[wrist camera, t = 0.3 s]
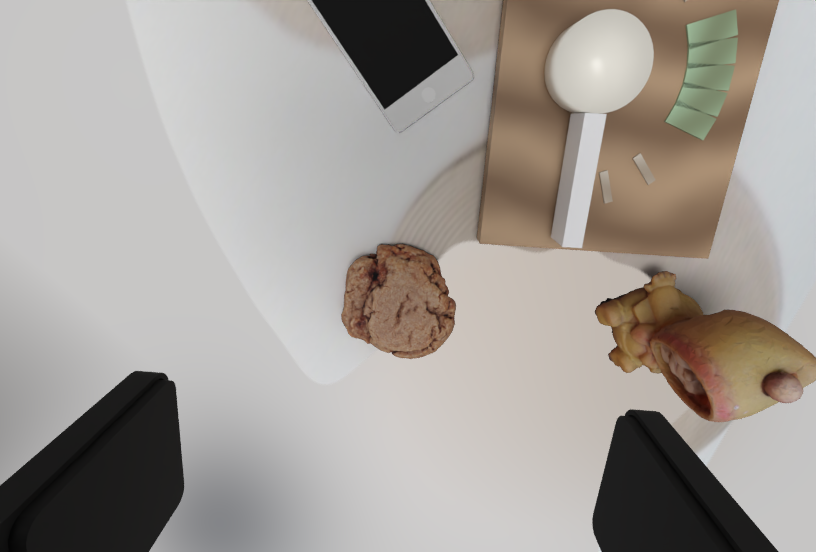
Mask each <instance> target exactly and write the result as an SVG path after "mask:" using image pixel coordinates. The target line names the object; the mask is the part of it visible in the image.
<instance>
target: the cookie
mask: <svg viewBox="0 0 816 552" xmlns="http://www.w3.org/2000/svg"><path fill="white" fill-rule="evenodd" d="M376 253H377V254H370V256H362V257H360V258H359V259H357V260H355V262H354V263H353V264H352V265H351V266H350V268H349V269H348V272H347V277H346V291H345V295H344V309H343V312H342V314H341V316H342V322H343V324H344V325H345V327H346V329H347V331H348V334H349V335H350V336H351V337H354V338H359V339H362V340H364V341H365V342H367V344H369V343H371V344H372V345H374V346H375V347H377V348H378V349H379V350H381V351H384V352H387V353H390V352H392V354H393V355H394V356H396V357H400V358H409V359H412V358H420V357H423V356H426V355H428V354H430V353H433V352H435V351H436V350H437V349H438V348H439V347H440V346H441V345H442V344H443V343H444V342H445V341H446V340H447V338H448V337H449V336H450V334H451V332H452V331H453V327H454V324H455V321H454V315H455V310H456V304H455V301H454V300H453V299H452V298H450V297H448V294H449V290H448V287H447V286H446V285H445V279H444V278H442V276H441V272H440V267H439V264H438V261H437V260H436V258H435V257H434V256H433V255H430V254H428V253H426V252H425V251H423V250H419V249H417V248H414V247H412V246H407V245H404V244H396V245H394V246H390V245H383V244H381V245H379V246H378V247H377V251H376Z"/></svg>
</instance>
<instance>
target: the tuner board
mask: <svg viewBox="0 0 816 552" xmlns="http://www.w3.org/2000/svg"><path fill="white" fill-rule="evenodd" d="M778 2H779V0H503V7H502V16H501V25H500V34H499V43H498V52H497V61H496V70H495V79H494V88H493V97H492V106H491V115H490V124H489V133H488V142H487V151H486V160H485V169H484V178H483V187H482V196H481V205H480V214H479V223H478V232H477V239H478V241H479V243H480V244H494V245H509V246H524V247H540V248H555V249H570V250H586V251H600V252H616V253H631V254H646V255H661V256H676V257H692V258H707V259H708V257H709V254H710V250H711V246H712V243H713V239H714V235H715V232H716V228H717V224H718V221H719V217H720V214H721V210H722V206H723V203H724V199H725V195H726V192H727V188H728V184H729V181H730V177H731V173H732V170H733V166H734V162H735V159H736V155H737V152H738V148H739V144H740V141H741V137H742V133H743V130H744V126H745V122H746V119H747V115H748V111H749V108H750V104H751V100H752V97H753V93H754V90H755V86H756V82H757V79H758V75H759V71H760V68H761V64H762V60H763V57H764V53H765V49H766V46H767V42H768V38H769V35H770V31H771V27H772V24H773V20H774V17H775V13H776V9H777V6H778ZM606 9H617V10H622V11H625V12H628V13H630V14H632V15H634V16H635V17H637V18H638V19H639V20H640V21H641V22H642V23H643V24H644V26H645V27H646V28H647V30H648V32H649V34H650V37H651V39H652V43H653V50H654V59H653V66H652V70H651V73H650V76H649V78H648V81H647V82H646V84H645V86H644V87H643V89H642V90H641V92H640V93H639V94H638V95H637V96H636V97H635V98H634V99H633V100H632V101H631V102H630V103H628V104H627V105H625V106H623V107H622V108H620V109H617V110H615V111H612V112H608V113H599V114H607V115H606V121H605V126H604V131H603V137H602V142H601V148H600V153H599V158H598V164H597V169H596V175H595V180H594V186H593V191H592V196H591V202H590V207H589V213H588V218H587V223H586V229H585V234H584V240H583V245H582V248H571V247H562V246H561V245H559V244H558V243H557V242H556V241H555V240H554V239H552V238H551V233H552V226H553V220H554V214H555V208H556V202H557V196H558V189H559V183H560V177H561V171H562V165H563V159H564V152H565V146H566V140H567V134H568V128H569V122H570V115H571V114H572V112H569V111H567V110H565V109H563V108H561V107H560V106H559V105H558V104H557V103H556V102H555V101H554V100H553V99H552V97H551V96H550V94H549V92H548V89H547V86H546V82H545V73H544V71H545V63H546V58H547V55H548V53H549V50H550V48H551V46H552V45H553V43H554V41H555V40H556V39H557V38H558V36H559V35H560V34H561V33H562V32H564V31H565V30H566V29H567V28H569V27H570V26H572V25H573V24H575V23H577V22H578V21H580V20H581V19H583V18H585V17H586V16H588V15H590V14H592V13H594V12H597V11H601V10H606Z"/></svg>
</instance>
